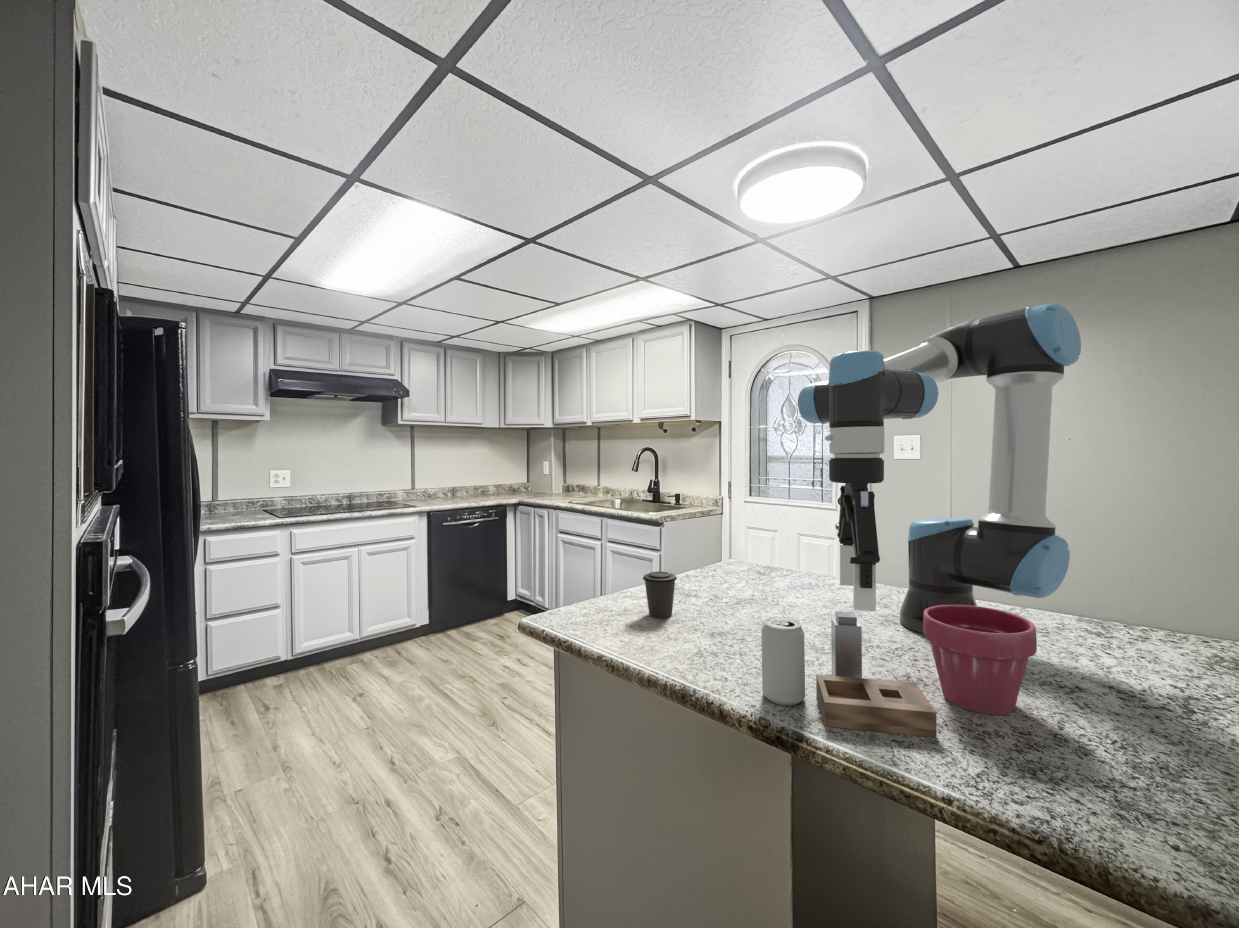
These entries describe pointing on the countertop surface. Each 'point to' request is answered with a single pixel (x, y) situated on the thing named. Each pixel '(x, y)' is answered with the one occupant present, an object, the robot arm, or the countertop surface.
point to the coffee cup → (660, 593)
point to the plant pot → (980, 654)
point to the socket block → (875, 705)
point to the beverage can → (783, 661)
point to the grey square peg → (846, 645)
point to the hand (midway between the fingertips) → (856, 596)
